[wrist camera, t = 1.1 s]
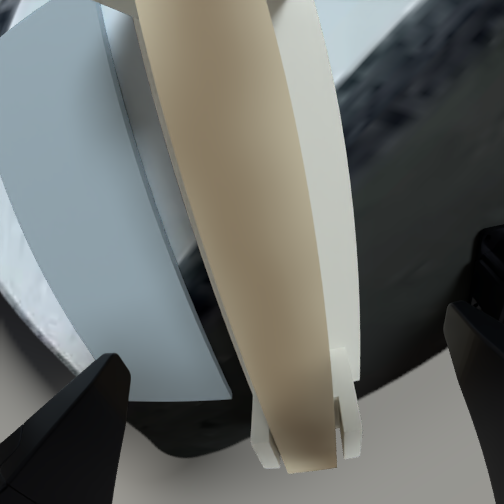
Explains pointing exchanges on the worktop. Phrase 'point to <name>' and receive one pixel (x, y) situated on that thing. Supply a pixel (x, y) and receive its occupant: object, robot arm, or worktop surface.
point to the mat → (96, 205)
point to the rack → (322, 204)
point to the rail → (250, 205)
